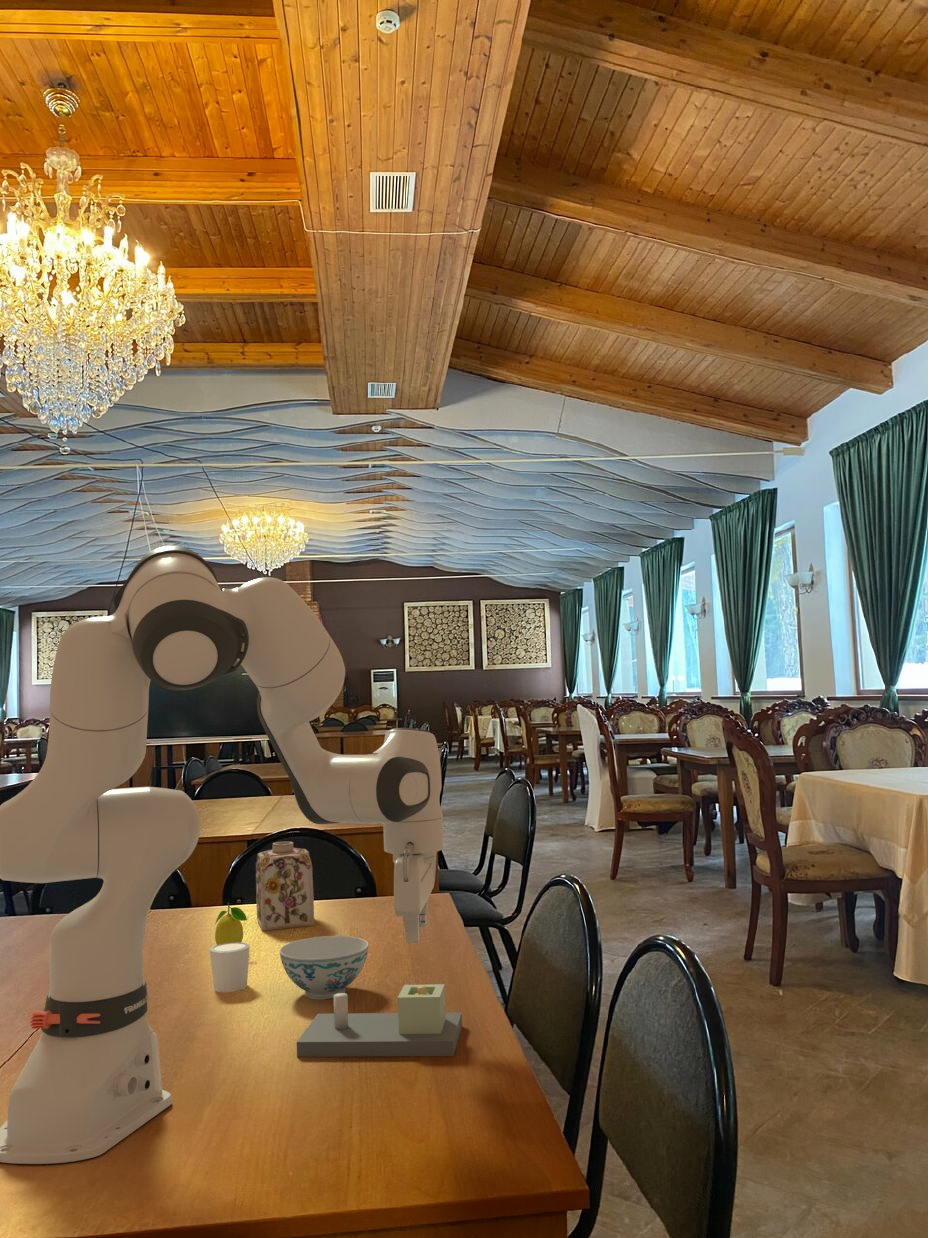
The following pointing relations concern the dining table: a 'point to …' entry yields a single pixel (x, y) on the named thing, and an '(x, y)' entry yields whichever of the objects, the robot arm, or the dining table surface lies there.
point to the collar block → (421, 1010)
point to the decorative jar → (284, 888)
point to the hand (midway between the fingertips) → (416, 934)
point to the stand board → (373, 1034)
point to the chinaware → (324, 963)
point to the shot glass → (230, 966)
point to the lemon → (230, 926)
